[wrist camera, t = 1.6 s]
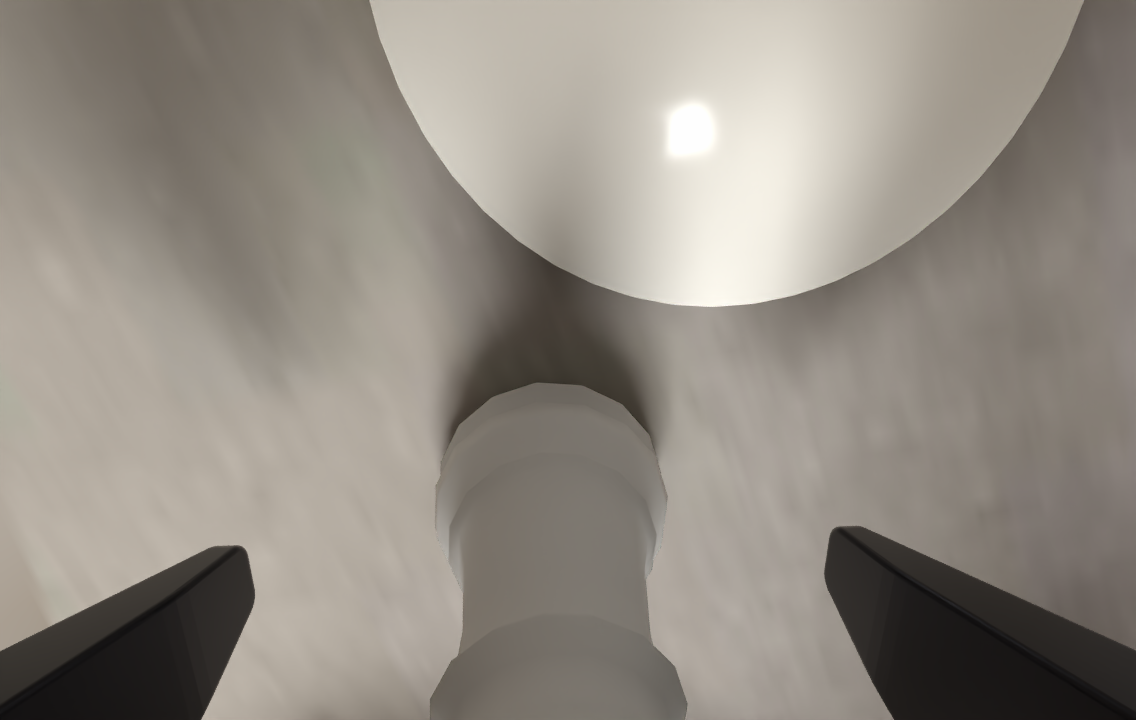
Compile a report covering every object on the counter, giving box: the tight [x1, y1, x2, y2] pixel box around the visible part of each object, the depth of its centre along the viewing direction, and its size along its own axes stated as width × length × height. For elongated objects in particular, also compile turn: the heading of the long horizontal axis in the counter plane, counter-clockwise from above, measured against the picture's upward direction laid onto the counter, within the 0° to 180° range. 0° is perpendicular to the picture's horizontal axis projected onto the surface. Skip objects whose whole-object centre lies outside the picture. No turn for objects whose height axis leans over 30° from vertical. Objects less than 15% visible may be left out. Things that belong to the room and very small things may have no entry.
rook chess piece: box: [430, 383, 687, 720], centre depth 7 cm, size 4×4×8 cm
